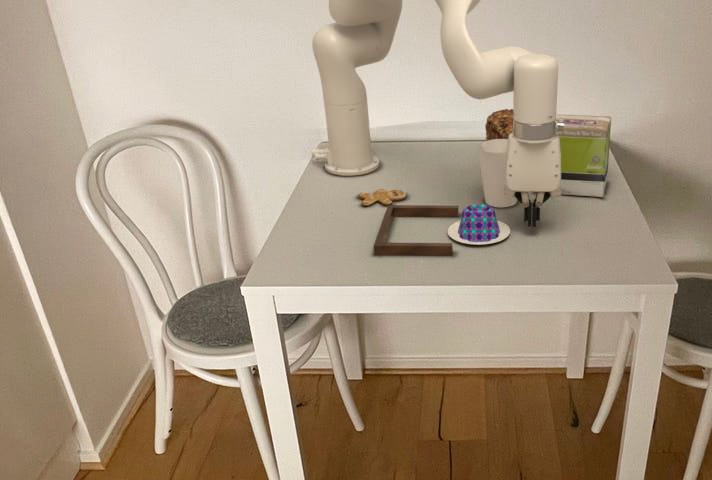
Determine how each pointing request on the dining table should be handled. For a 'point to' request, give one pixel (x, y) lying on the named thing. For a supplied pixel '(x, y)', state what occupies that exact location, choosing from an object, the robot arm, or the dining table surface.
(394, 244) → the frame
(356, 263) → the dining table surface
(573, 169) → the tea box
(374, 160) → the robot arm
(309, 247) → the dining table surface
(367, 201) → the cookie
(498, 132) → the bread
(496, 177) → the cup
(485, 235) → the pudding
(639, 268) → the dining table surface
